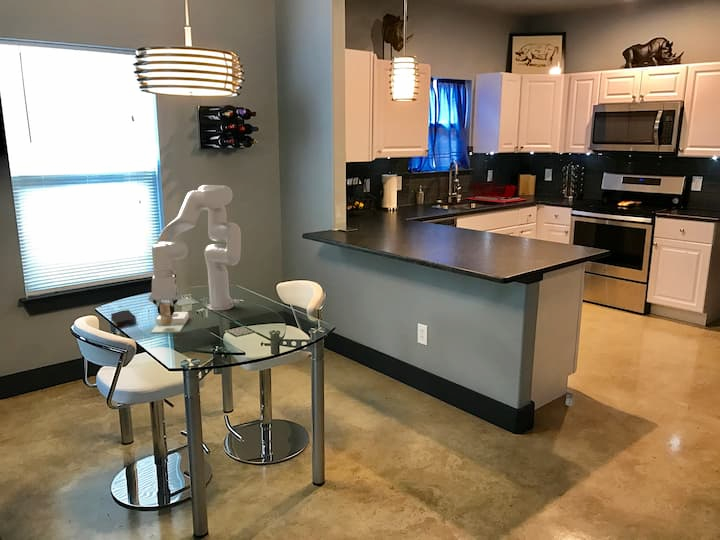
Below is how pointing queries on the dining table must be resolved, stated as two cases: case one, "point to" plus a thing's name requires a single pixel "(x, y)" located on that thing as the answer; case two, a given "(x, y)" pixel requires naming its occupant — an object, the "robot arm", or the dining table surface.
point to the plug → (165, 314)
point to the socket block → (176, 318)
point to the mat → (167, 329)
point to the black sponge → (123, 318)
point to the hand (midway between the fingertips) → (166, 314)
